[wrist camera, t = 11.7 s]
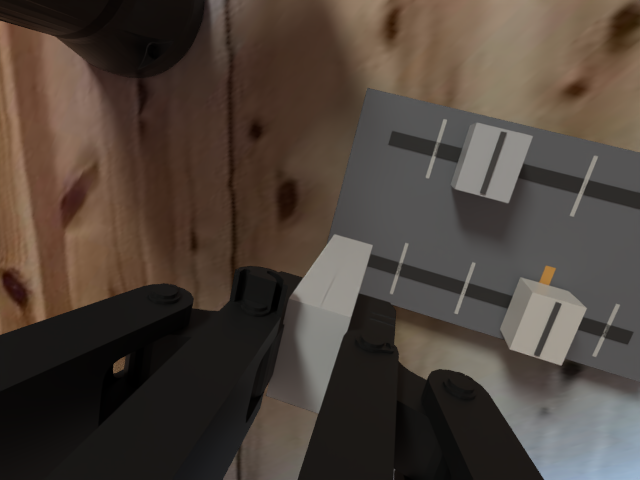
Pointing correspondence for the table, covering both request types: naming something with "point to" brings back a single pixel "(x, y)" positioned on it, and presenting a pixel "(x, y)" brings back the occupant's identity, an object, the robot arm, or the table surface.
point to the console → (495, 226)
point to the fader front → (490, 161)
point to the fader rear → (542, 321)
